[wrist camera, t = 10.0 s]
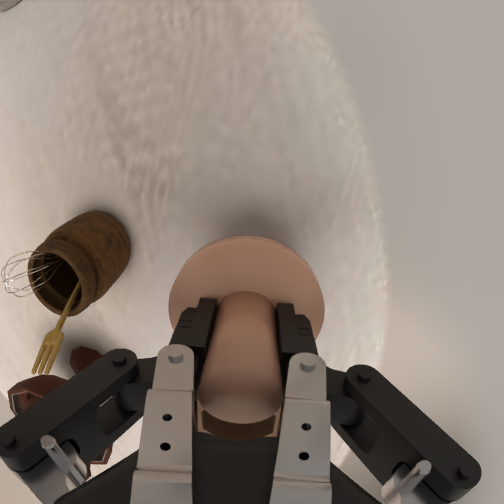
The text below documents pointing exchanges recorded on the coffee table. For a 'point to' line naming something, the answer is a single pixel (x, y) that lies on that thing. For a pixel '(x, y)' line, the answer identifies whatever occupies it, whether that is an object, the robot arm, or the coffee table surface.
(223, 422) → the canister
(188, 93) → the coffee table surface
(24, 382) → the ice cream bowl
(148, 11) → the coffee table surface
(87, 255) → the utensil holder
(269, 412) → the lid
